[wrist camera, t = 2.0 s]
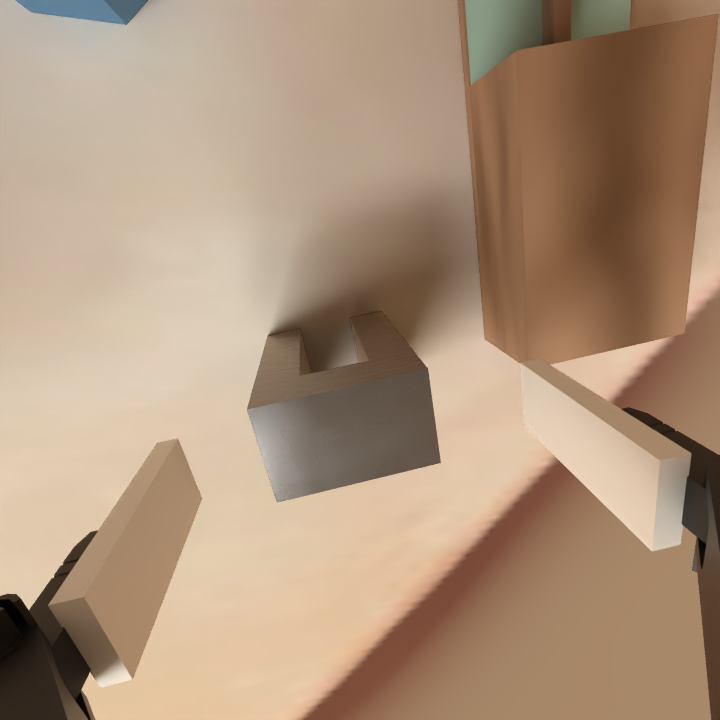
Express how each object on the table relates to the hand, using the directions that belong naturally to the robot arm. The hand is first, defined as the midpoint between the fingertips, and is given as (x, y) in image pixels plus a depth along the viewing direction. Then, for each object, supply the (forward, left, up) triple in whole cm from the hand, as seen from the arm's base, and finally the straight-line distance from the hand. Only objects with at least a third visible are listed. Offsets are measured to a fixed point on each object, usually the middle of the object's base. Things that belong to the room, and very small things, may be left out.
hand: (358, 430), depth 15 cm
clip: (0, 0, -8) cm, 8 cm away
